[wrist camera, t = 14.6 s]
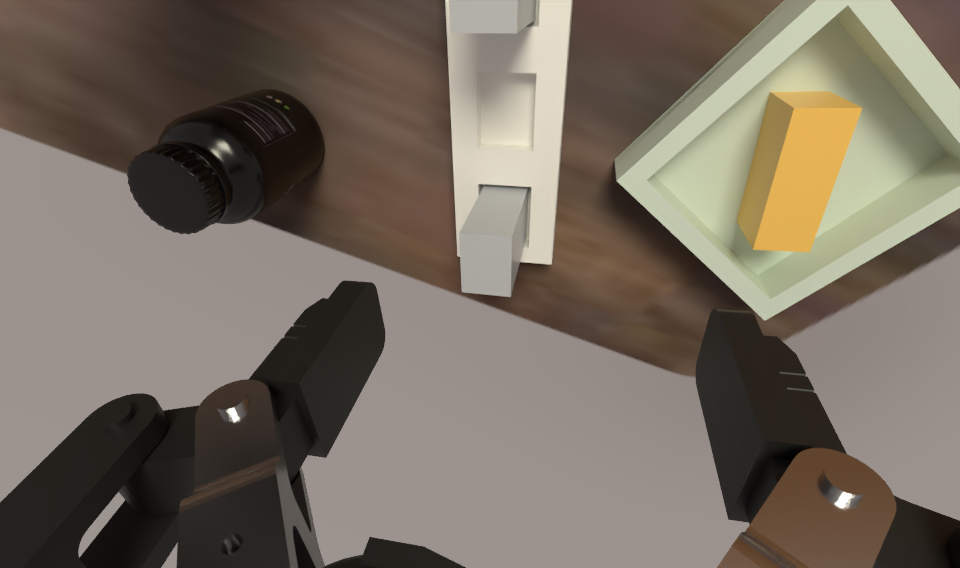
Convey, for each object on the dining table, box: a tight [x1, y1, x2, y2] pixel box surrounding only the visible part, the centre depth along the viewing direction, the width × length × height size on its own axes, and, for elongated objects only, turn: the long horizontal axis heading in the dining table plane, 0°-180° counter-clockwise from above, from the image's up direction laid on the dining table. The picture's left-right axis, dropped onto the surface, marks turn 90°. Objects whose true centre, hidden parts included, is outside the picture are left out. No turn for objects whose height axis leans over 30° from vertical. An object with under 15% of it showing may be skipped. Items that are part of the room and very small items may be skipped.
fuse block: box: [445, 0, 573, 265], centre depth 30 cm, size 21×7×2 cm, turn 1°
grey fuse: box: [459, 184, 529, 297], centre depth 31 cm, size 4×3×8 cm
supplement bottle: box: [127, 89, 323, 234], centre depth 31 cm, size 7×7×12 cm
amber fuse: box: [737, 91, 862, 252], centre depth 27 cm, size 4×3×8 cm
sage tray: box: [614, 0, 960, 321], centre depth 28 cm, size 14×14×4 cm
